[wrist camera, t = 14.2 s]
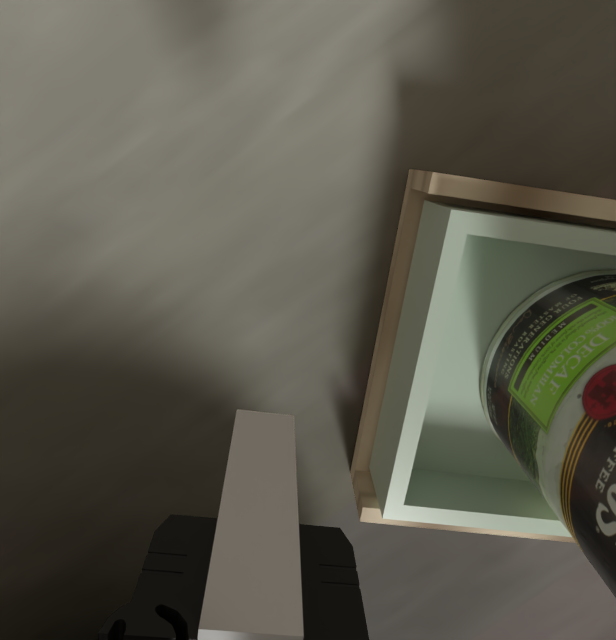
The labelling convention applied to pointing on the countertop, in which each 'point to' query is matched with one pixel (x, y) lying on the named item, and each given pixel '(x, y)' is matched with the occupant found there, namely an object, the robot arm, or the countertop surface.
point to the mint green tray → (467, 365)
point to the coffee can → (562, 404)
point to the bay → (416, 192)
